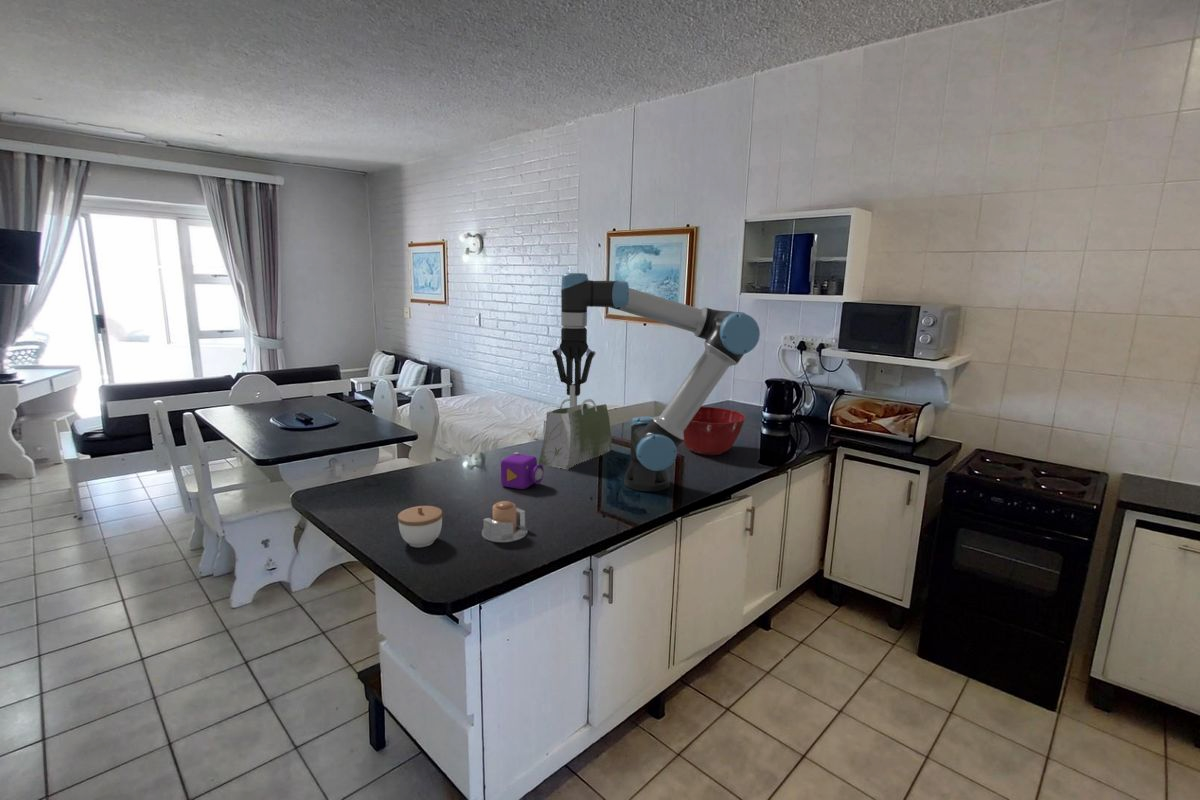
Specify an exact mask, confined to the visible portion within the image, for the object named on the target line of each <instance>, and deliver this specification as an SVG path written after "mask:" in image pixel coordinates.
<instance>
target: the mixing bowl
mask: <svg viewBox="0 0 1200 800" xmlns="http://www.w3.org/2000/svg"><path fill="white" fill-rule="evenodd" d="M745 420H746V415H745V414H743V413H742V412H739V411H738V410H737V411H736V410H733V409H727V408H724V407H723V408H721V407H714V406H713V407H712V406H701V407H700V409H699V410H698V412H697V413H696V414H695V416H694V417H693V419H692V420H691V422H690V423H689V424H688V426H687V427H686V429H685V430H684V433H683V434H684V440H683V442H682V443H683V444H684V446H685V447H686V448H687V449H689V450H690V451H691V452H692V451H693V452H692V453H694V454H697V453H698V455H703V456H704V455H705V456H719V455H723V454H724V453H726V452H727V451H729V450H730V449H731V448H732V447H733V445H734V444H735V442H736V440H737V438H738V436H739V434H740V433H741V431H742V427H743V425H744V422H745Z"/></svg>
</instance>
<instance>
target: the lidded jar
mask: <svg viewBox="0 0 1200 800" xmlns="http://www.w3.org/2000/svg"><path fill="white" fill-rule="evenodd" d="M397 520H398V528H399V532H400V536H401V538H402V539H403V540H404V541H405V543H407V544H408V545H409V546H410V547H413V548H424V547H428V546H430V545H432V544H433V543H434V542H435V540H436V539H437V538H439V536H440V534H441V531H442V526H443V510H442V509H441V508H440V507H437V506H434V505H418V506H417V505H416V506H412V507H409V508H406V509H404V510H401V511H400V512H399V513H398V514H397Z"/></svg>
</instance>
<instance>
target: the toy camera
mask: <svg viewBox="0 0 1200 800" xmlns="http://www.w3.org/2000/svg"><path fill="white" fill-rule="evenodd" d="M544 470H545V469H544V465H541V464H539V463H538V461H537V457H536V456H534V455H528V454H520V452H518V451H516V452H513V454H511V455H509V456H506V457H504V458H503V459H502V460H501V461H500V483H501V485H502V486H503V487H505V488H511V489H518V490H525V489H528V488H529V487H531V486H532V485H533V484H536V485H539V484H540V483H541V482H542V480H543V478H544V473H545V471H544Z"/></svg>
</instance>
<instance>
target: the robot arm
mask: <svg viewBox="0 0 1200 800" xmlns="http://www.w3.org/2000/svg"><path fill="white" fill-rule="evenodd" d="M560 287H561V291H560V292H561V297H560V299H561V300H560V301H561V302H560V303H561V307H560V309H561V316H560V317H561V323H560V324H561V326H562V327H561V330H560V333H561V334H560V344H559V347H558V348H556V349H553V350H552V351H551V352H552V355H553V356H554V359H555V362H556V367H557V371H558V375H559V376H558V377H559V380H560V383H564V384H565V385H566V395H567V396H569V399H570V401H569V407H575V406H577V405H578V396H580V395H581V385H582V384H586V382H587V380H588V377H589V372H590V369H591V366H592V361H593V358H595V356H596V353H597V352H596V351H594V350H593V351H592V350H591V349H590V348H589V345H588V342H587V341H588V340H587V339H588V329H587V328H586V327H587V326H588V307H590V308H591V307H595V308H610V309H614V310H617V311H621V312H625V313H628V314H631V315H635V316H638V317H640V318H644V319H647V320H650V321H655V322H658V323H661V324H664V325H668V326H670V327H671V326H672V327H674V328H678V329H681V330H684V331H687V332H691V333H693V334H694V336H695V337H697V338H700V339H702V340H705V341H704V351H703V353H702V355H700V357H699V358H698V360H697V362H696V363H695V365H694V366H693V367H692V369H691V370H690V372H689V373H688V375H687V377H686V378H685V379H684V381H683V382H682V383H681V385H680V386H679V388H678V389H677V391H676V392H675V393H674V395H673V396H672V398H671V400H670V401H669V402H668V404H667V405H666V406H665V408H664V409H663V411H662V412H661V414H660V415H657V416H636V417H633V418H632V419H631V424H630V457H629V458H630V461H629V464H628V466H627V469H626V471H625V473H624V474H625V475H624V481H623V482H624V486H626V487H627V488H629V489H631V490H635V491H638V492H639V491H640V492H661V491H663V490H666V489H668V488H669V487H670V480H671V478H670V475H669V472H668V468H670V467H671V466H672V465H673V464H674V462H675V461H676V459H677V455H678V449H679V448H680V446H681V445H682V443H684V442H683V440H684V434H683V433H684V430H685V429H686V427H687V426H688V424H689V423H690V422H691V420H692V419H693V417H694V416H695V414H696V413H697V412H698V410H699V409H700V407H703V404H704V403H705V402H706V400H707V399H708V398H709V397H710V394H711V393H712V392H713V391H714V389H715V387H716V386H717V384H719V382H720V380H721V379H722V378H723V376H724V375H725V373H726V372H727V370H728V369H729V367H732V366H736V365H738V364H739V363H740V361H741V359H742V358H743V357H744V355H746V354H747V353H750V352H751V351H752V350H754V348H755V347H756V346H757V345H758V343H759V341H760V334H761V332H760V328H759V325H758V322H757V320H755V318H753V317H752V316H751V315H749V314H747V313H745V312H741V311H731V310H718V309H712V308H709V307H702V308H698V307H694V306H692V305H688V304H686V303H685V304H684V303H681V302H678V301H675V300H671V299H667V298H664V297H661V296H657V295H655V294H651V293H647V292H645V291H641V290H638V289H635V288H631V287H630V286H629V283H628V282H627V281H625V280H624V281H623V280H621V281H620V280H590V279H589V278H588V274H587V273H586V272H581V273H579V272H566V273H564V274H562V276H561V286H560ZM562 354H563V355H564V357H565V362H566V368H565V365H564V361H563V357H562ZM584 355H585V356H586V359H585V362H584V366H583V369H582V358H583V356H584ZM573 363H574V365H573ZM573 368H574V369H573ZM573 370H574V371H573ZM573 372H574V373H573ZM573 374H574V375H573ZM573 377H574V381H573Z"/></svg>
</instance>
